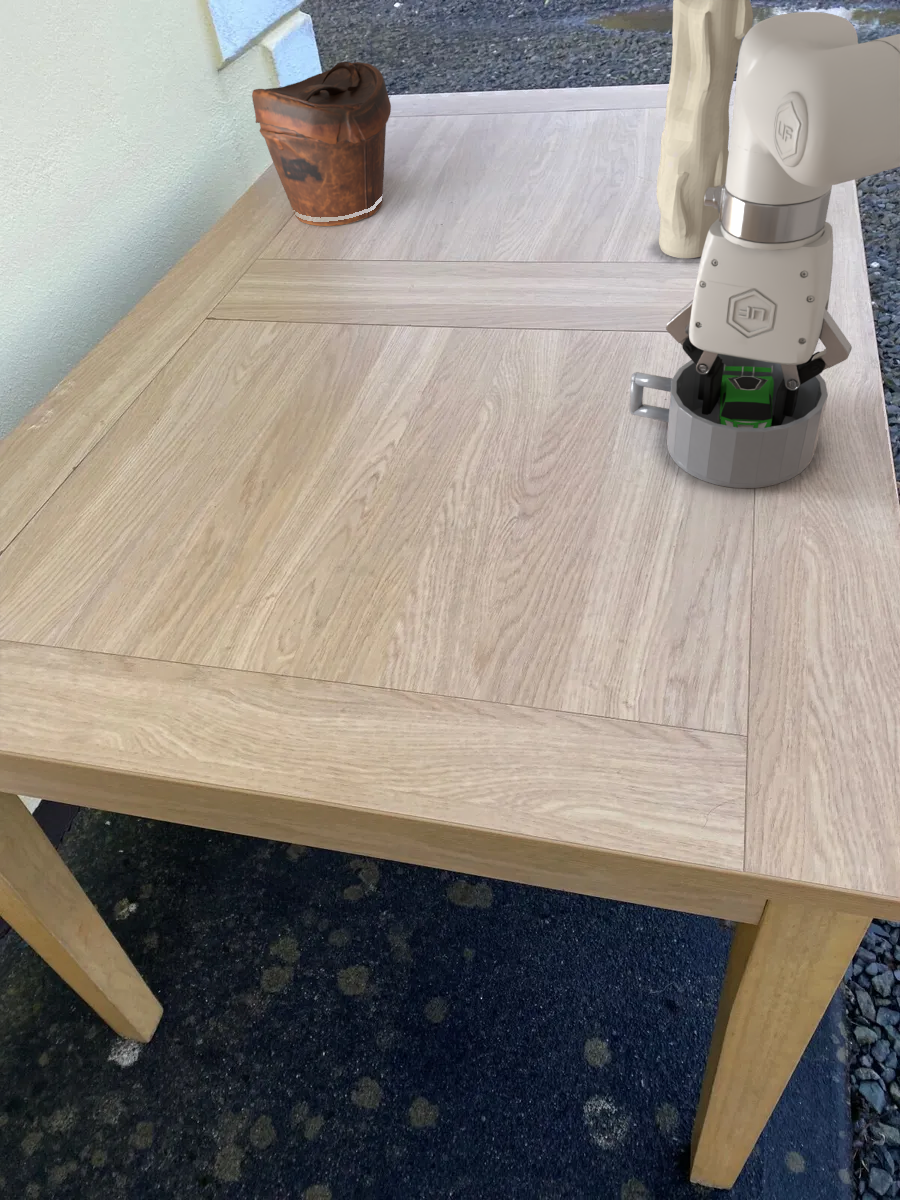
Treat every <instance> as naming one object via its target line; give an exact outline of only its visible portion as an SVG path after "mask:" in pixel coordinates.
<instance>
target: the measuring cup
mask: <svg viewBox="0 0 900 1200" xmlns="http://www.w3.org/2000/svg"><path fill="white" fill-rule="evenodd" d="M719 357H720V359H722V363H724V364H725V366H746V367H764V368H772V366H773V370H772V374H771V372H754V376H772V378H773V380H774V391H773V399H772V400H773V402H772V417H773V411H774V405H775V400H776V394H777V390H778V387H779V385H780V383H781V381H782V380H783V373H782V368H781V364H777V363H771V362H764V361H758V360H752V359H746V358H740V357H734V356H729V355H723V354H719ZM723 374H724V375H735V376H741V374H742V371H725V372H724V367H723ZM752 375H753V372H747V371H743V376H752ZM722 376H723V375H722ZM699 382H700V374H699V373H698V372H697V370H696V364H695V363H694V362H693V361H692V359H690V360H688V361H687V362H686V363H685V364H683V365H682V366H680V367H679V368H678V369H677V371H676V372H675V374H674V375H673V377H668V376H661V375H655V374H651V373H645V372H639V371H636V372H633V373H632V374H631V376H630V387H629V388H630V391H629V413H630V415H632V416H635V417H640V418H646V419H651V420H656V421H659V422H660V421H661V422H666V423H667V432H666V447H667V451H668V455H669V456H670V458H671V459H672V460H673V462H674V463H675V464H676V465H677V466H678V467H679V468H680V469H682V470H683V471H684V472H686V473H687V474H688V475H690V476H692V477H694V478H696V479H698V480H700V481H703V482H706V483H709V484H712V485H715V486H721V487H727V488H735V489H758V488H759V489H760V488H764V487H765V488H766V487H771V486H775V485H778V484H782V483H785V482H787V481H789V480H792V479H793V478H795V477H796V476H798V475H800V474H801V473H802V472H803V471H805V470H806V468H808V466H809V465H810V464H811V462H812V460H813V458H814V455H815V452H816V449H817V446H818V442H819V437H820V432H821V428H822V423H823V419H824V415H825V409H826V405H827V400H828V389H827V383H826V381H825V379H824V378H823V376H821V373H820V374H819V375H817V376H815V377H813V378H812V379H810V380H808V381H806V382H805V383H803V384H801V385H800V387H799V392H798V398H797V403H796V407H795V411H794V413H793V415H792V417H789V416H785V418H784V420H783V422H782V424H781V425H779V426H772V427H767V428H737V427H732V426H727V425H722V424H717V420H718V418H719V414H720V411H719V405H718V402H717V404H716V405H715V407H714V409H713V411H712V412H711V414H708V415H704V414H702V406H703V400H699V399H698V391H699ZM644 388H647V389H653V390H659V391H663V392H669V403H668V404H669V405H668V408H667V407H661V406H657V405H651V404H647V403H644ZM719 401H720V398H719Z"/></svg>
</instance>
